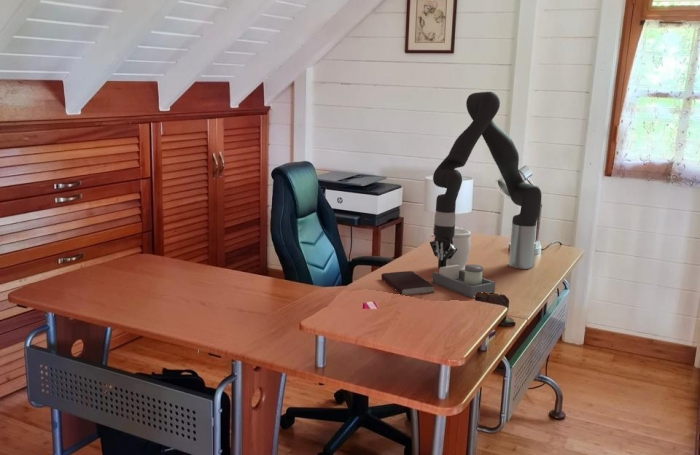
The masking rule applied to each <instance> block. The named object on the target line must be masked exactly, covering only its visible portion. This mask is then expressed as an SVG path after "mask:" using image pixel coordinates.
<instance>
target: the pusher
mask: <svg viewBox="0 0 700 455" xmlns="http://www.w3.org/2000/svg"><path fill="white" fill-rule="evenodd" d="M459 270H460V265H451V266H445V267H440V269H439V272H438V273H439V274H442V275H445V276H447V277H450V278H453V279H459Z"/></svg>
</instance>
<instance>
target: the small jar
mask: <svg viewBox="0 0 700 455" xmlns="http://www.w3.org/2000/svg"><path fill="white" fill-rule="evenodd" d="M464 271H465V278H464V283H466V284H468V285H471V286H476V285H481V284H482V278H483V271H484V267H483V266H482V265H480V264H465V270H464Z"/></svg>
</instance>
